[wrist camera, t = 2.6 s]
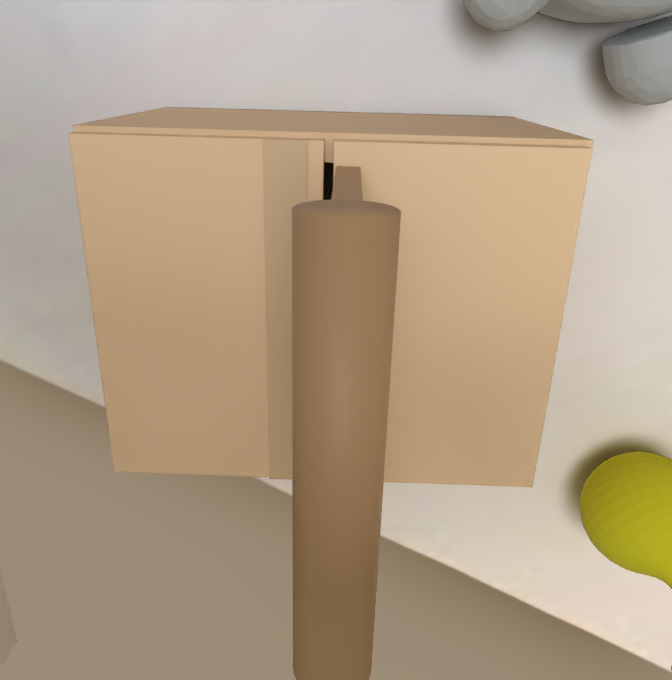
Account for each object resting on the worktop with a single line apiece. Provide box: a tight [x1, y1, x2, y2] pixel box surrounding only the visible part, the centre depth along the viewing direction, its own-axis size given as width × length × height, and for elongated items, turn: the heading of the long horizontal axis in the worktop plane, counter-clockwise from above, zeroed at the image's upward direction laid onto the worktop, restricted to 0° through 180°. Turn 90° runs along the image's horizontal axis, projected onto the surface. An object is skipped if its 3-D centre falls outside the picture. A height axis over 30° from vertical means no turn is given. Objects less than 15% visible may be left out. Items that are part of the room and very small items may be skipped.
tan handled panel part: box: [292, 139, 592, 680], centre depth 19 cm, size 9×14×11 cm
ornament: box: [580, 452, 672, 589], centre depth 37 cm, size 7×7×10 cm
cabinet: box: [69, 107, 594, 479], centre depth 30 cm, size 18×14×13 cm
